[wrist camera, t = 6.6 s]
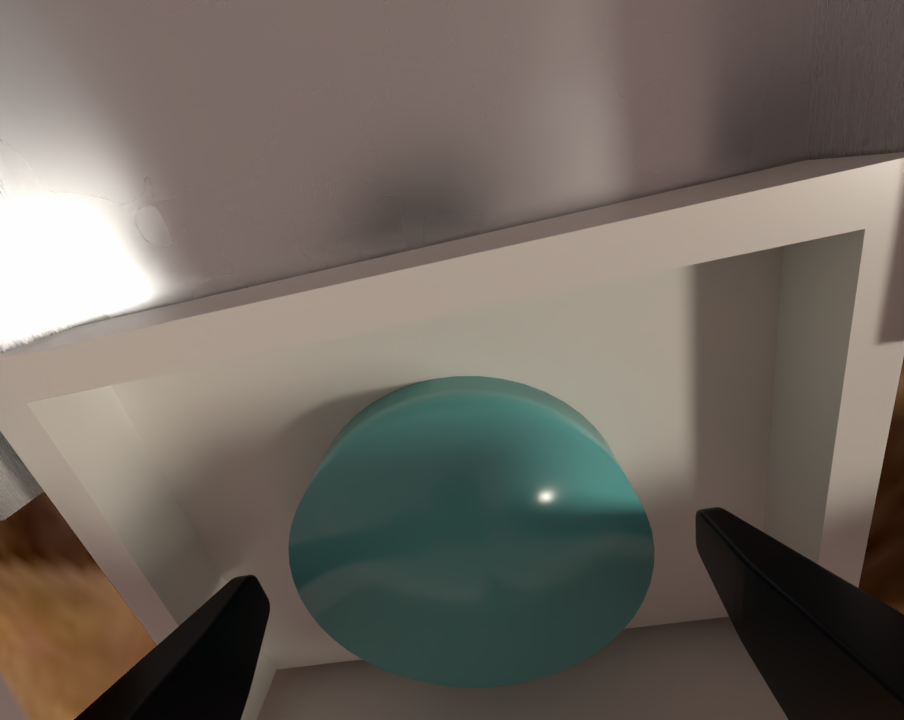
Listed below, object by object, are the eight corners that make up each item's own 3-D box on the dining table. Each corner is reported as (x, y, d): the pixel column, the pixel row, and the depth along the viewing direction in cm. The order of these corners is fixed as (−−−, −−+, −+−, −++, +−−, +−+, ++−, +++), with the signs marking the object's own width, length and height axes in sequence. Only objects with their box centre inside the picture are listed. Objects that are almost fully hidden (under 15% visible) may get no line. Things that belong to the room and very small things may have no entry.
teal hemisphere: (611, 344, 8) (644, 379, 6) (633, 601, 10) (661, 669, 9) (269, 409, 9) (229, 454, 7) (367, 634, 11) (352, 702, 10)
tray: (752, 591, 13) (892, 787, 8) (287, 649, 14) (215, 834, 10) (781, 160, 8) (1098, 131, 4) (102, 316, 10) (-156, 407, 6)
